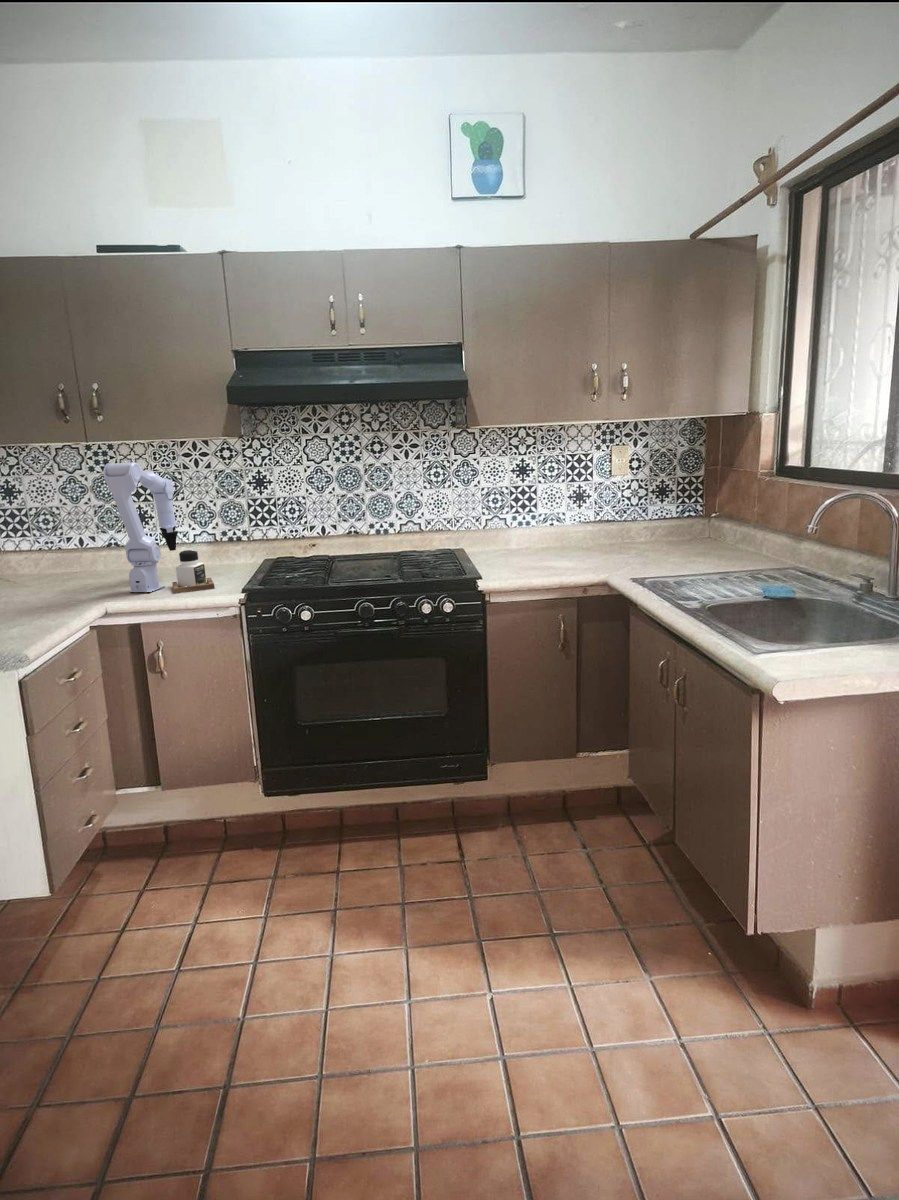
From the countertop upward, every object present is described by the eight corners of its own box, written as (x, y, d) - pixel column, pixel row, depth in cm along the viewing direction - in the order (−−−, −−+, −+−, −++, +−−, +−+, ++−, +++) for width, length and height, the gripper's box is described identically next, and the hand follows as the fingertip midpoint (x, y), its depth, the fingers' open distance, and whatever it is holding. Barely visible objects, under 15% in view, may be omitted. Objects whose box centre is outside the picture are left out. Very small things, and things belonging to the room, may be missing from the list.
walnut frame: (172, 586, 269) (172, 582, 268) (211, 581, 273) (210, 577, 273) (174, 593, 257) (173, 589, 257) (214, 588, 262) (214, 584, 262)
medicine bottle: (196, 586, 266) (192, 552, 263) (177, 586, 268) (173, 552, 265) (206, 582, 273) (202, 548, 270) (188, 582, 274) (184, 549, 271)
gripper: (179, 513, 273) (185, 550, 277) (175, 507, 286) (181, 542, 290) (158, 516, 270) (164, 553, 275) (155, 509, 283) (161, 545, 287)
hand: (171, 548), depth 282 cm, fingers open, 7 cm apart
